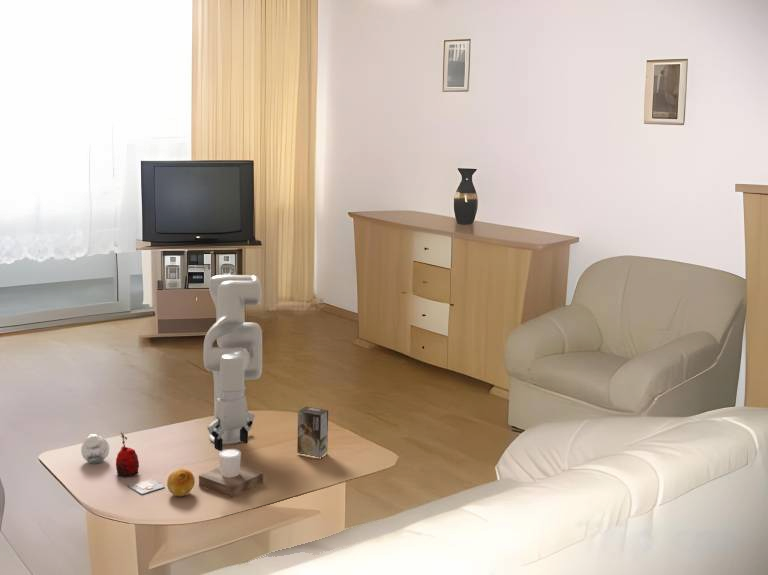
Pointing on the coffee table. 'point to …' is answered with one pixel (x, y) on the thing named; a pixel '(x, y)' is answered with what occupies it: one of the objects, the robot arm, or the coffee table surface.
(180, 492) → the fruit
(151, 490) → the card
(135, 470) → the red clay folk toy
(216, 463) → the coffee table surface
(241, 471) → the walnut block
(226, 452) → the shot glass
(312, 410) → the coffee box
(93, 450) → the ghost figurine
